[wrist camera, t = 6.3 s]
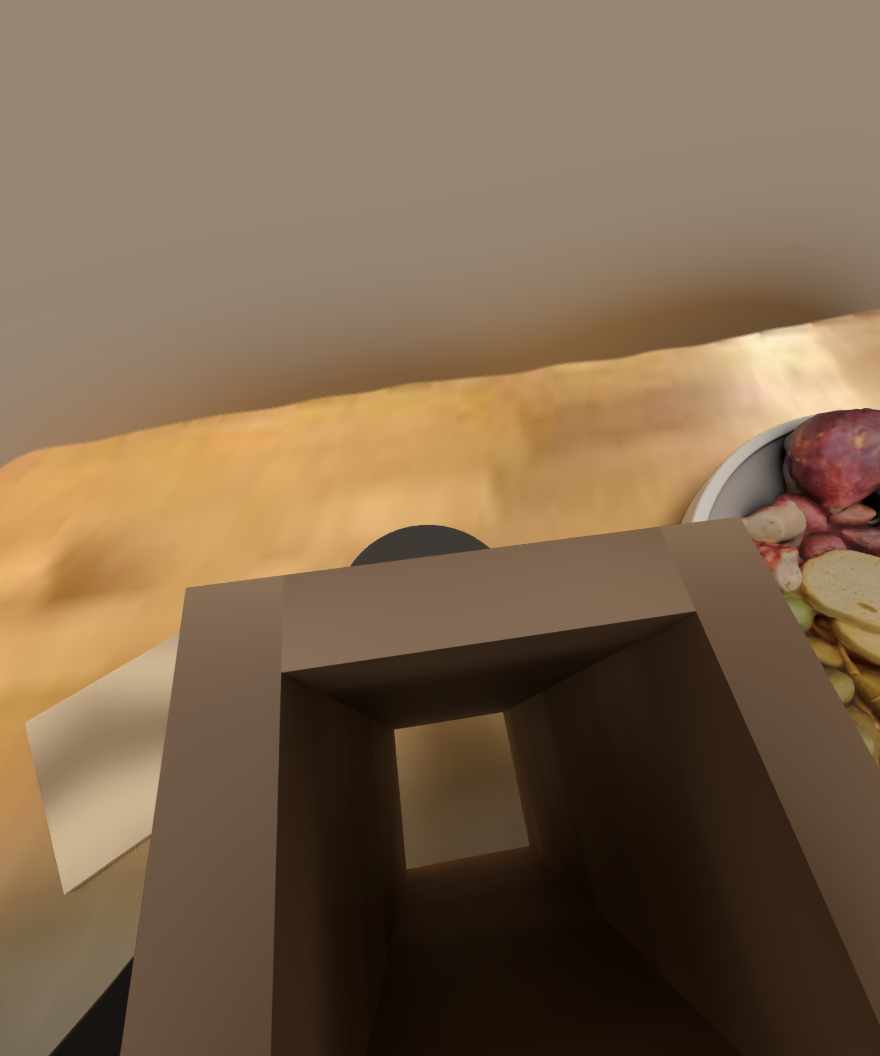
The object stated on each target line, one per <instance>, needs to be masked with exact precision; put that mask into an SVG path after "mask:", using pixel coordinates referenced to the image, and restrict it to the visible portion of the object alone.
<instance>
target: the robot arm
mask: <svg viewBox="0 0 880 1056" xmlns="http://www.w3.org/2000/svg"><path fill="white" fill-rule="evenodd" d="M133 961H134V956H133V957H132V958H131V959H130V961H129V962H128V963H127V964H126V966H125V967H124V968H123V969H122V971H121V972H120V973H119V974H118V975H117V977H116V978H115V979H114V980H113V982H112V983H111V984H110V985H109V986H108V988H107V989H106V990H105V991H104V993H103V994H102V995H101V996H100V997H99V998H98V999H97V1001H96V1002H95V1003H94V1004H93V1005H92V1006H91V1008H90V1009H89V1010H88V1011H87V1012H86V1013H85V1014H84V1016H83V1017H82V1018H81V1019H80V1020H79V1021H78V1023H77V1024H76V1025H75V1026H74V1027H73V1028H72V1029H71V1031H70V1032H69V1033H68V1034H67V1035H66V1036H65V1038H64V1039H63V1040H62V1041H61V1042H60V1043H59V1044H58V1046H57V1047H56V1048H55V1049H54V1050H53V1051H52V1052H51V1053H50V1055H49V1056H120V1053H121V1046H122V1039H123V1032H124V1025H125V1018H126V1010H127V1003H128V996H129V989H130V982H131V975H132V968H133Z"/></svg>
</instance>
